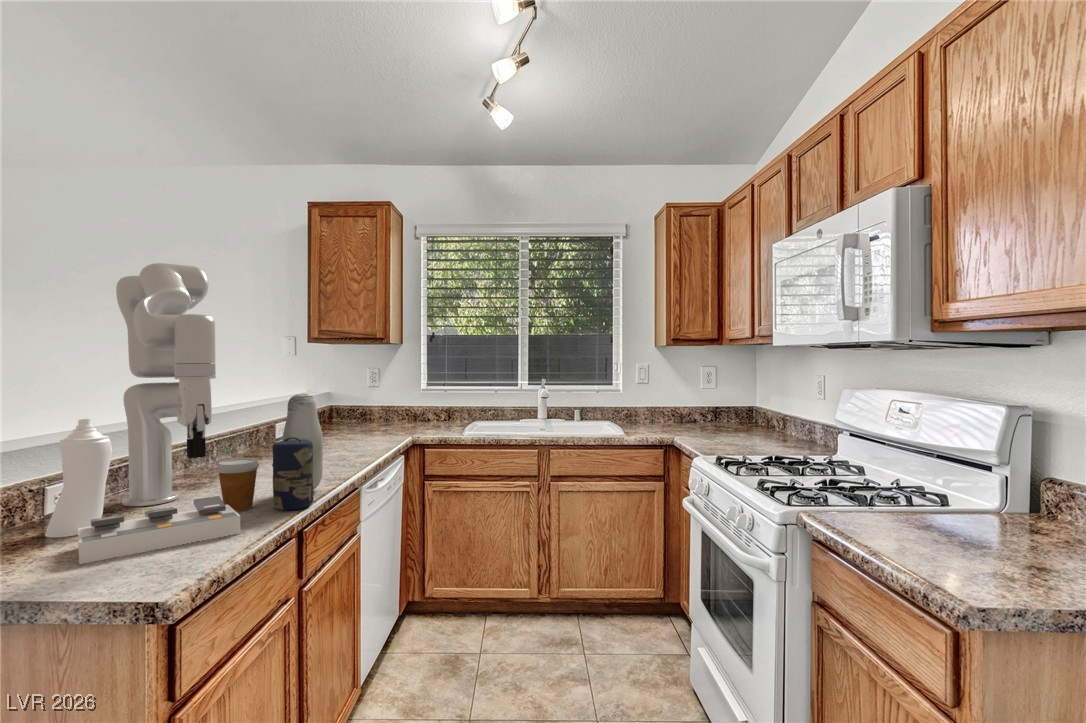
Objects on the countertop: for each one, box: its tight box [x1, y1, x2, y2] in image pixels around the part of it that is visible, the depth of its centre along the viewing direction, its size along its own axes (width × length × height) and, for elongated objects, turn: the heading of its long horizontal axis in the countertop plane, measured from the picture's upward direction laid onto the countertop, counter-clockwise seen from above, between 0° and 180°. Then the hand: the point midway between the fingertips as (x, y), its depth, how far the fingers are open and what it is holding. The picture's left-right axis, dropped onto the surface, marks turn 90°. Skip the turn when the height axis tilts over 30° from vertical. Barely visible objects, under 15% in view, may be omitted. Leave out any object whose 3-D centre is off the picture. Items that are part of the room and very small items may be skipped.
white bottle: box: [44, 418, 113, 538], centre depth 124 cm, size 12×11×25 cm
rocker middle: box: [144, 506, 178, 518], centre depth 119 cm, size 7×5×1 cm
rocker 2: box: [193, 495, 226, 515], centre depth 124 cm, size 7×5×1 cm
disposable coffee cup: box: [216, 457, 260, 512], centre depth 142 cm, size 10×10×12 cm
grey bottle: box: [282, 393, 324, 491], centre depth 158 cm, size 10×10×28 cm
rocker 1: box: [91, 514, 125, 527], centre depth 113 cm, size 7×5×1 cm
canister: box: [271, 437, 314, 511], centre depth 143 cm, size 10×10×18 cm
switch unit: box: [77, 505, 241, 565], centre depth 117 cm, size 12×27×5 cm, turn 131°
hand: (196, 456), depth 120 cm, fingers closed
